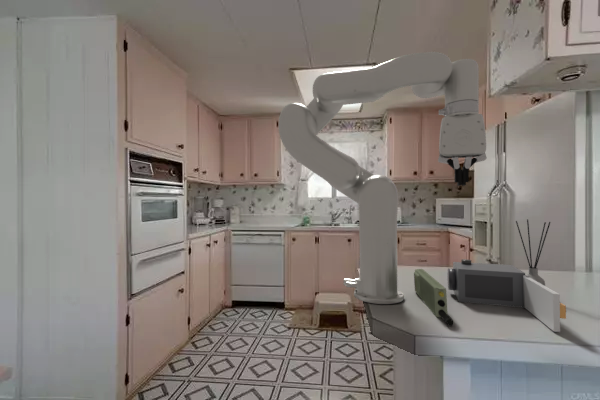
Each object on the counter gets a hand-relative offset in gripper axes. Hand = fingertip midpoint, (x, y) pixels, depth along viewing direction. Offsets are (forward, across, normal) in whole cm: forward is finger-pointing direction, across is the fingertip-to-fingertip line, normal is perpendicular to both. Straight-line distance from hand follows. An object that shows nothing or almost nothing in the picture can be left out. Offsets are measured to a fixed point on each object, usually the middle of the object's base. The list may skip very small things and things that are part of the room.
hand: (461, 185), depth 77 cm
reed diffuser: (+29, +19, +11) cm, 36 cm away
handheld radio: (+29, -7, -7) cm, 31 cm away
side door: (+28, +14, -8) cm, 33 cm away
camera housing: (+29, +6, +5) cm, 30 cm away
